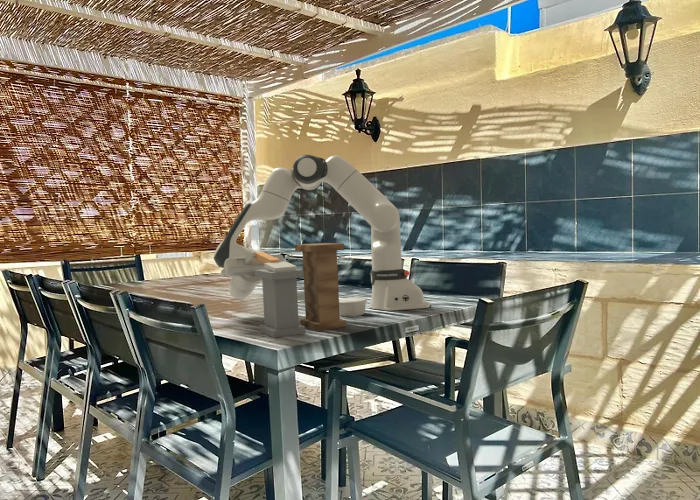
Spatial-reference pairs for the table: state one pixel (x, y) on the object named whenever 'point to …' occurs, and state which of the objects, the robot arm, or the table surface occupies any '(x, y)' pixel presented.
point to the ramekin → (352, 306)
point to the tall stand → (321, 286)
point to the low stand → (280, 303)
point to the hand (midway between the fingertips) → (260, 253)
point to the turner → (274, 263)
